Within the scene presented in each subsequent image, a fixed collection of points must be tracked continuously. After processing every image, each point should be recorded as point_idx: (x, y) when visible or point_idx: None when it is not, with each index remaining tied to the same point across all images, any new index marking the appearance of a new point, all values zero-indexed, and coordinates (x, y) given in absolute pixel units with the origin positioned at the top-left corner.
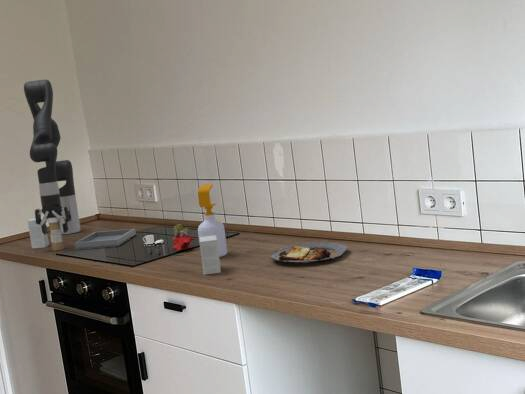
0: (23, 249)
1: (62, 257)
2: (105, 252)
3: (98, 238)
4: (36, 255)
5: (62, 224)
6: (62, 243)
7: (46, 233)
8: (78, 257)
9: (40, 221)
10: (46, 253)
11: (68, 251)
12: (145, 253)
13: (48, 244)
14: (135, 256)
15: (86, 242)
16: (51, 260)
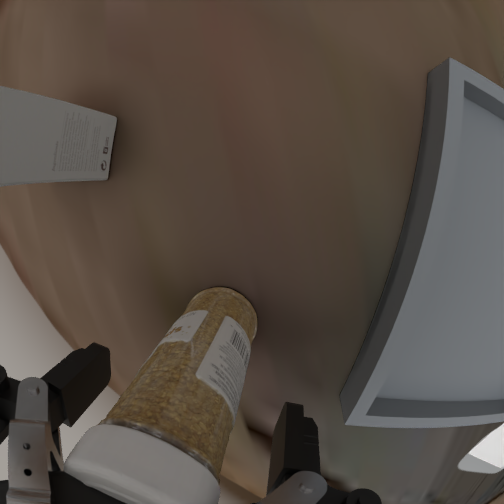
0: None
1: None
2: (441, 463)
3: (471, 169)
4: None
5: (267, 491)
6: (250, 340)
7: (107, 364)
8: None
9: (13, 417)
10: None
11: (302, 401)
12: (496, 478)
13: (112, 124)
14: (471, 496)
15: (410, 426)
16: (254, 493)
